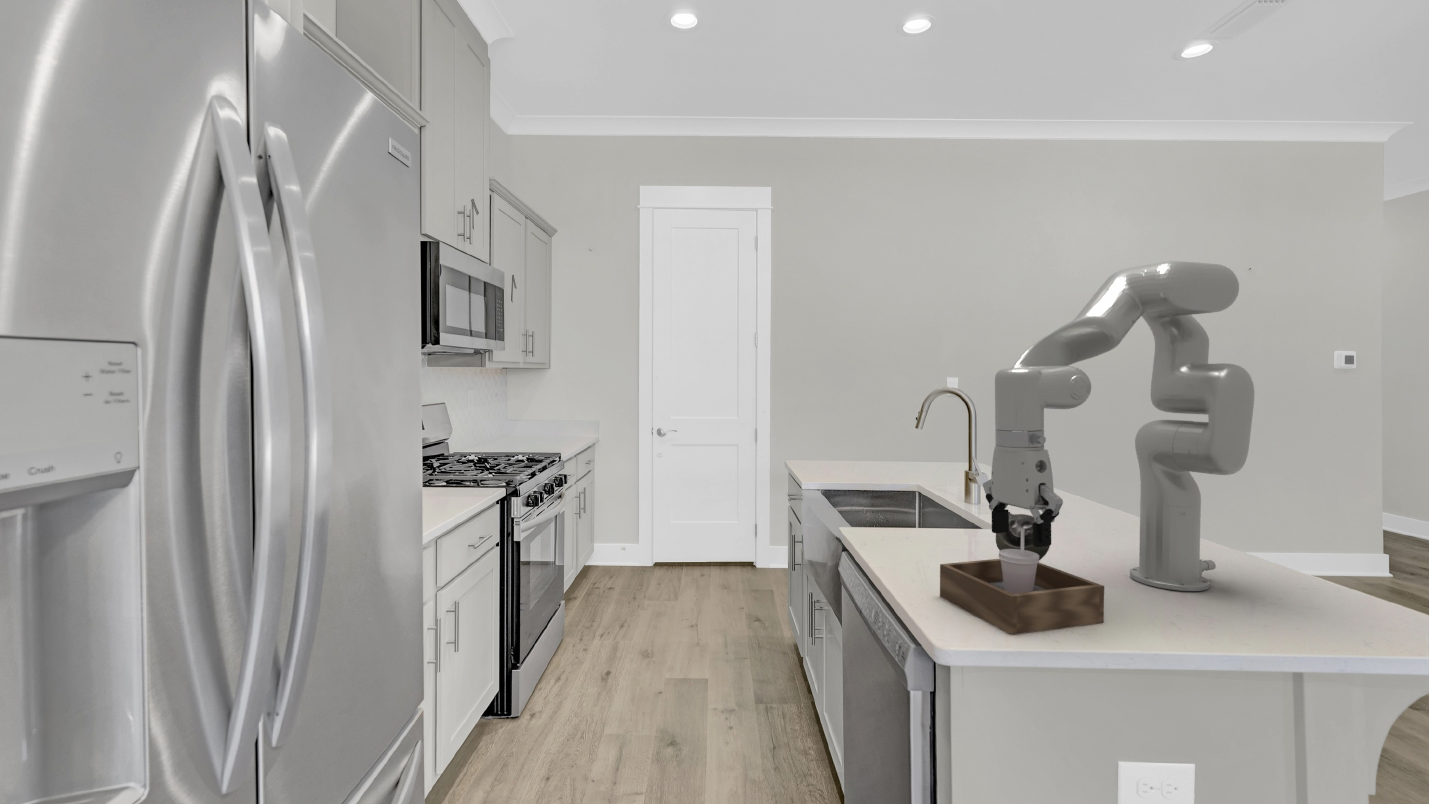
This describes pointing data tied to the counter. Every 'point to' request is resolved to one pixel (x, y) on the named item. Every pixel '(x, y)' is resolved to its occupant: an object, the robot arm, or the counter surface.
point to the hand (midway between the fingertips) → (1020, 538)
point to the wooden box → (1022, 597)
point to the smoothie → (1018, 568)
